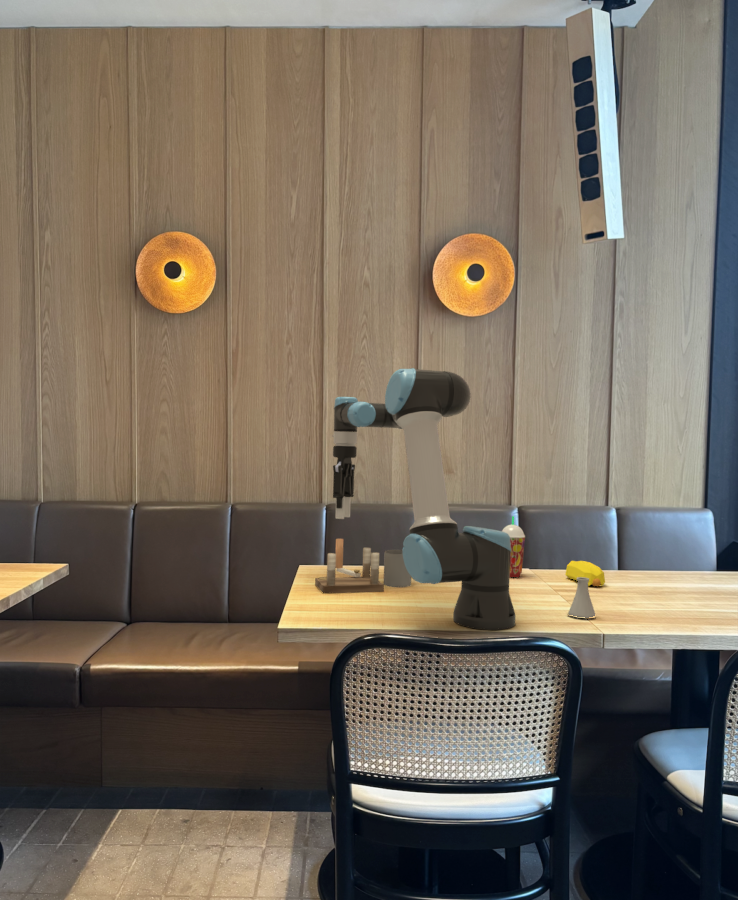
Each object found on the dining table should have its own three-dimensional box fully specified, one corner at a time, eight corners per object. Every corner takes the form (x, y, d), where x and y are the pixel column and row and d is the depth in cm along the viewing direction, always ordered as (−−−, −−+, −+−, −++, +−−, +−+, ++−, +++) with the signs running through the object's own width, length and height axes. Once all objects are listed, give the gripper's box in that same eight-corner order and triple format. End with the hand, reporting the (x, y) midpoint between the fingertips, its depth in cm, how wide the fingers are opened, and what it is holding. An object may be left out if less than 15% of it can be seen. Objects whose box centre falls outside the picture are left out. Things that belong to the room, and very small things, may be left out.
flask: (573, 611, 184) (575, 574, 184) (600, 616, 180) (601, 578, 180) (562, 616, 179) (563, 578, 179) (589, 622, 174) (591, 582, 174)
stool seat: (383, 591, 202) (384, 553, 201) (323, 593, 197) (324, 554, 197) (372, 582, 213) (373, 547, 213) (314, 584, 209) (315, 547, 208)
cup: (411, 582, 216) (412, 550, 216) (410, 588, 208) (411, 554, 207) (384, 581, 217) (385, 549, 216) (382, 586, 208) (383, 553, 208)
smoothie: (493, 574, 233) (495, 514, 232) (515, 573, 235) (517, 514, 235) (505, 579, 225) (508, 517, 224) (528, 578, 227) (530, 517, 227)
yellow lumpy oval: (586, 589, 214) (609, 589, 216) (587, 567, 214) (610, 567, 216) (561, 577, 232) (582, 577, 233) (561, 557, 232) (583, 557, 233)
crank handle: (354, 577, 209) (355, 544, 209) (333, 570, 219) (334, 538, 218) (361, 576, 210) (362, 543, 210) (339, 569, 220) (340, 538, 220)
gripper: (344, 444, 232) (342, 514, 232) (323, 444, 215) (321, 519, 215) (365, 445, 229) (363, 515, 230) (345, 445, 213) (343, 521, 213)
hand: (342, 517), depth 223 cm, fingers open, 4 cm apart
